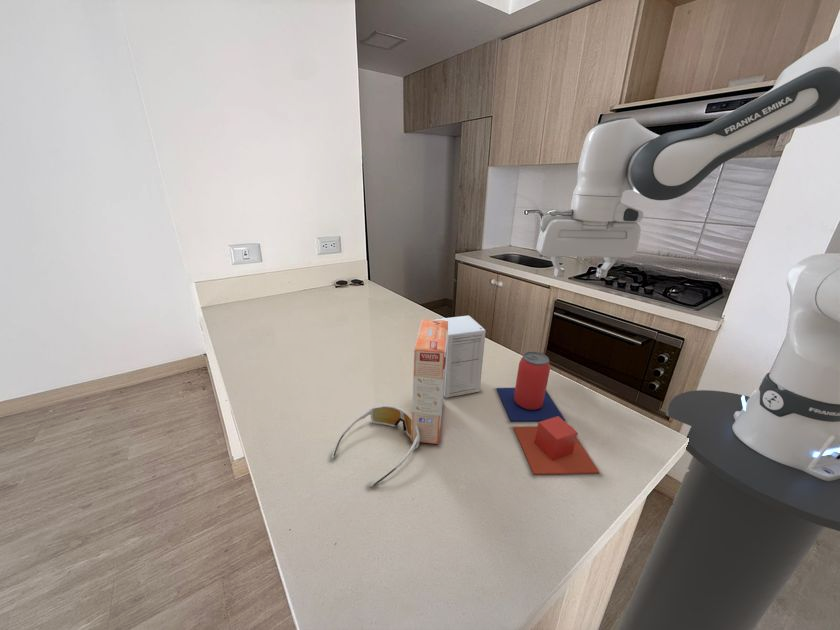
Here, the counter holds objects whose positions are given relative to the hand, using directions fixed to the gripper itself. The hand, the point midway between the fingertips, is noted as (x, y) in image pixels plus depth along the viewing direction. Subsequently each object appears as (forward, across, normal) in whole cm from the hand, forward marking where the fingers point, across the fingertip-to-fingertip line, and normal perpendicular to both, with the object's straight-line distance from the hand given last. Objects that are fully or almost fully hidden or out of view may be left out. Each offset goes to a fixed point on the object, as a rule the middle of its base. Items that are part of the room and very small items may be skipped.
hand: (579, 276), depth 74 cm
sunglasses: (+29, -43, -19) cm, 55 cm away
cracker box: (+29, -33, -11) cm, 45 cm away
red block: (+29, -9, -20) cm, 36 cm away
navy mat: (+29, -9, -6) cm, 31 cm away
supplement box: (+29, -25, +2) cm, 39 cm away
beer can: (+29, -9, -6) cm, 31 cm away
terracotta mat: (+29, -9, -20) cm, 36 cm away
